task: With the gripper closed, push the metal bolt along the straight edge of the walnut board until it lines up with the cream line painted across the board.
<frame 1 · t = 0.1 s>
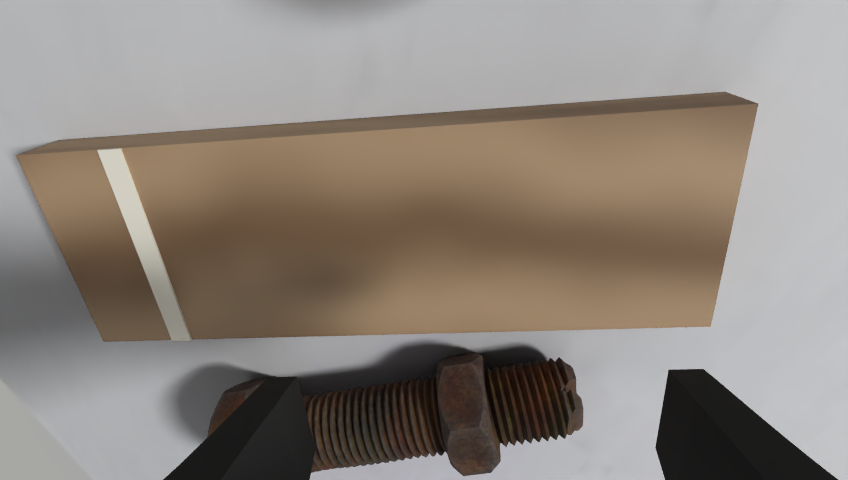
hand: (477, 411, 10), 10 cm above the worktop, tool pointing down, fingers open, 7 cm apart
walnut board: (382, 220, 19), on the worktop
bolt: (406, 381, 23), on the worktop
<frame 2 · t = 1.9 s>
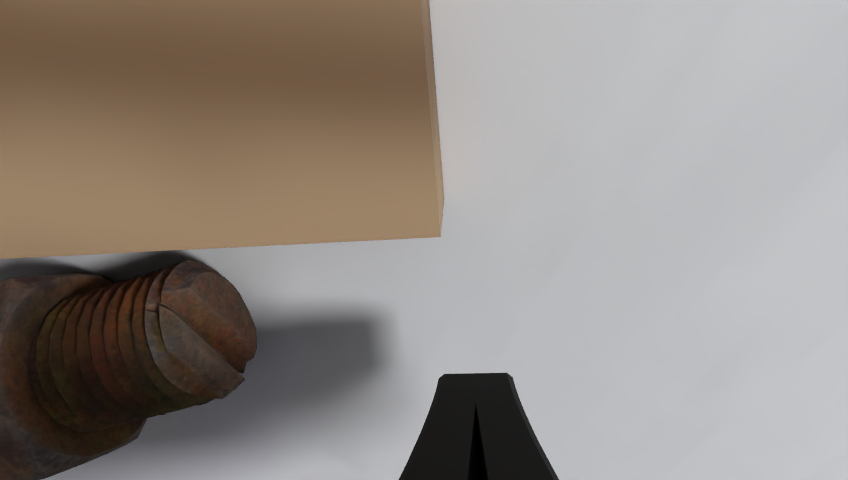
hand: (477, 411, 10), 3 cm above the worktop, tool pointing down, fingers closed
bolt: (43, 338, 14), on the worktop
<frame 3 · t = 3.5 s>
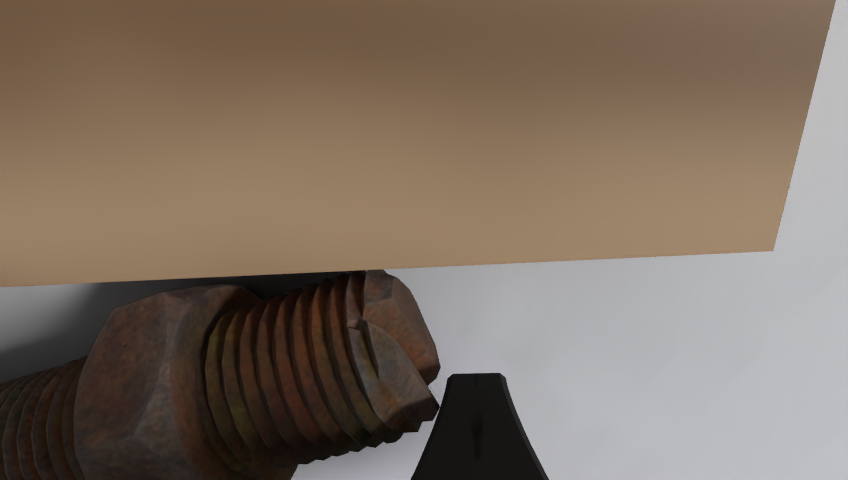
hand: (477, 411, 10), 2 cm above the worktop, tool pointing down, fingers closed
walnut board: (59, 40, 9), on the worktop
bolt: (159, 360, 13), on the worktop, touching gripper
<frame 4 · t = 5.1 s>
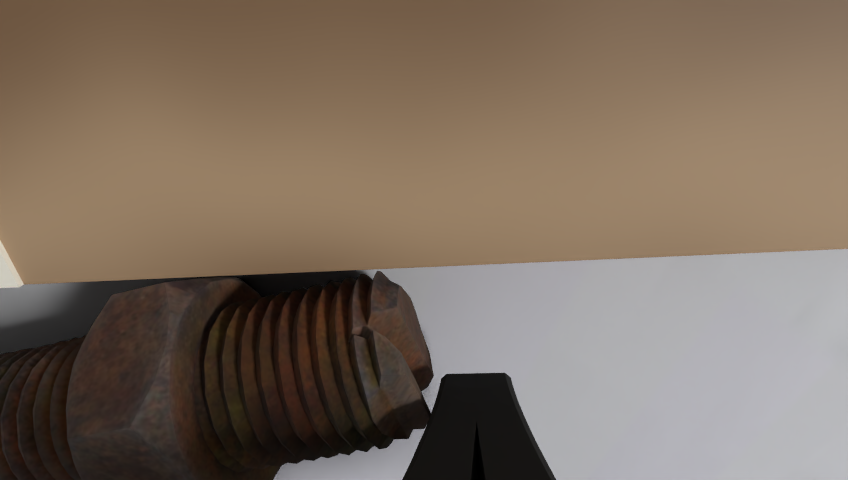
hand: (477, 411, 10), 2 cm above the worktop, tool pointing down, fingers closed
bolt: (145, 344, 12), on the worktop, touching gripper
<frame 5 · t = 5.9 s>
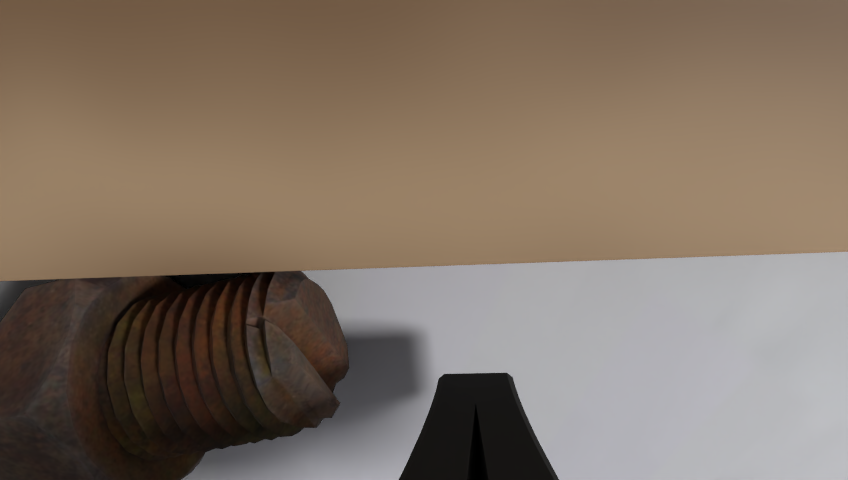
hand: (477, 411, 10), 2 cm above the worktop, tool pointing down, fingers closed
walnut board: (359, 5, 8), on the worktop
bolt: (84, 339, 13), on the worktop
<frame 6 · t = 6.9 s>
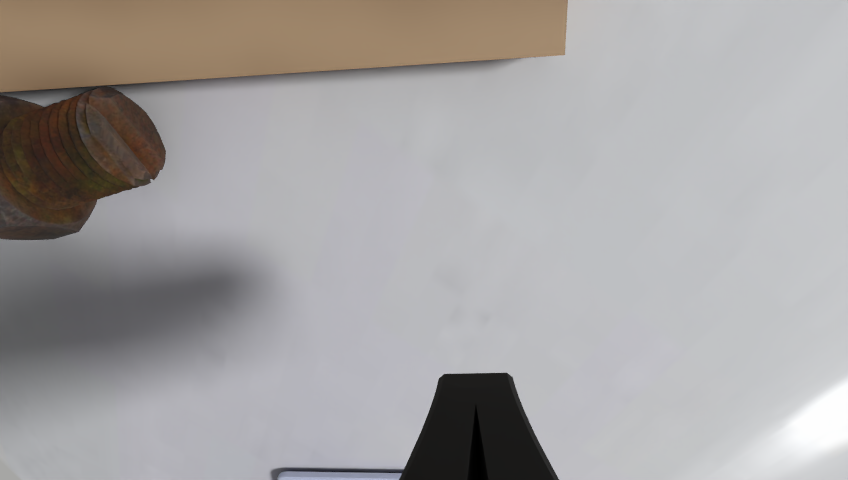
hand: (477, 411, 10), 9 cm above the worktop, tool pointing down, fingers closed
bolt: (13, 174, 19), on the worktop
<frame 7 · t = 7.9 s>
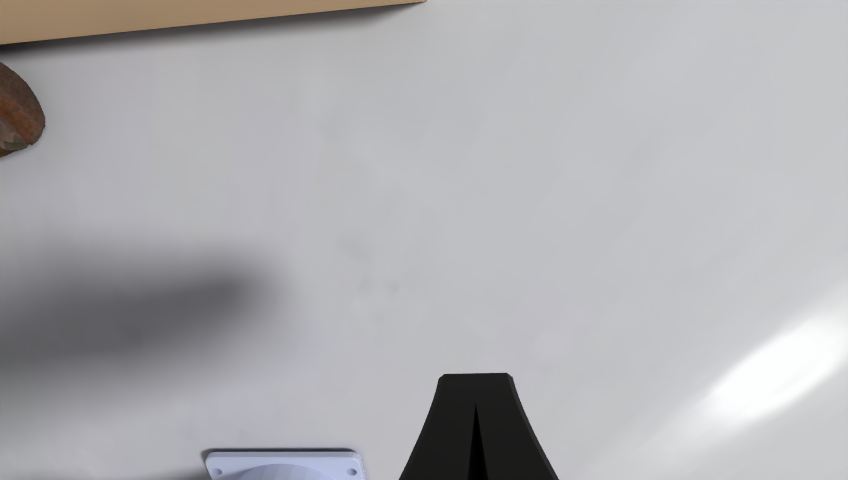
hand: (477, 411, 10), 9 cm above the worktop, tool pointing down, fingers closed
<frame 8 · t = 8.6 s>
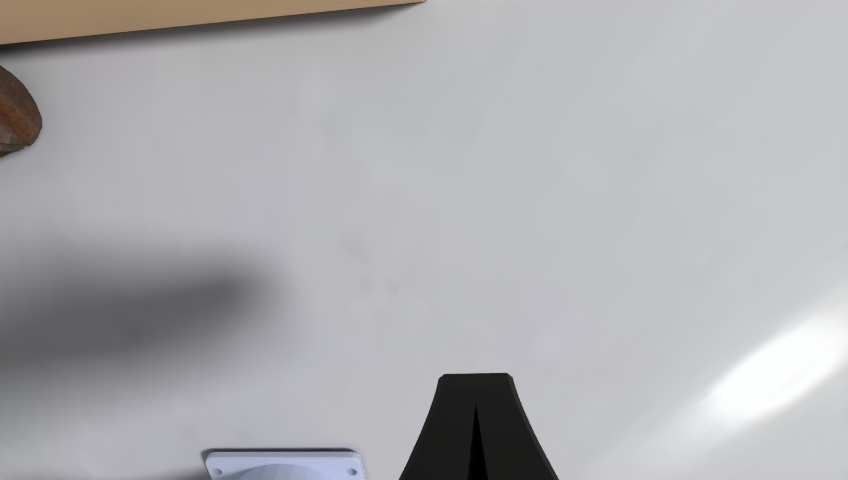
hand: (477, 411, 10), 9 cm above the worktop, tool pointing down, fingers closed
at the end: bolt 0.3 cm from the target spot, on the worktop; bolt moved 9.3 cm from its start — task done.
